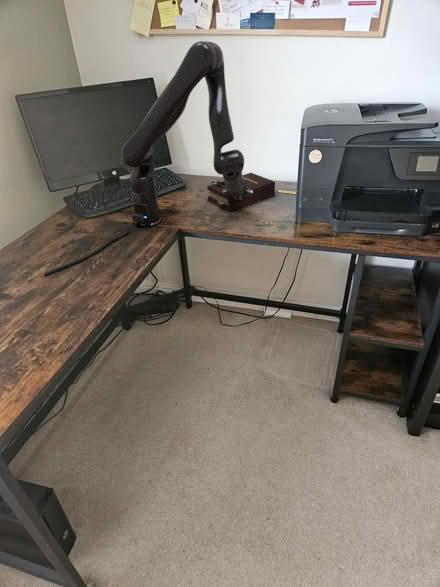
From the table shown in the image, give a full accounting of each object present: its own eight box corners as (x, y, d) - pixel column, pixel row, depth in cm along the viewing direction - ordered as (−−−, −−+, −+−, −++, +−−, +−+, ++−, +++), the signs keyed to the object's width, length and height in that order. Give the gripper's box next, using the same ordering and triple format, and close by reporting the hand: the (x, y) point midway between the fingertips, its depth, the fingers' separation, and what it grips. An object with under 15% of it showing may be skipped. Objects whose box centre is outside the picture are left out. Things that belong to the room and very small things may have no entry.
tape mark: (296, 194, 182) (296, 193, 182) (277, 192, 185) (277, 191, 185) (297, 192, 184) (297, 191, 184) (279, 190, 187) (279, 189, 187)
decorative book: (281, 179, 177) (226, 197, 164) (280, 195, 182) (227, 214, 168) (253, 169, 190) (200, 185, 177) (253, 184, 195) (202, 201, 181)
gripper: (253, 173, 152) (256, 192, 169) (218, 173, 154) (225, 192, 171) (251, 192, 151) (255, 209, 168) (217, 191, 153) (224, 208, 170)
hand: (240, 200), depth 169 cm, fingers closed
